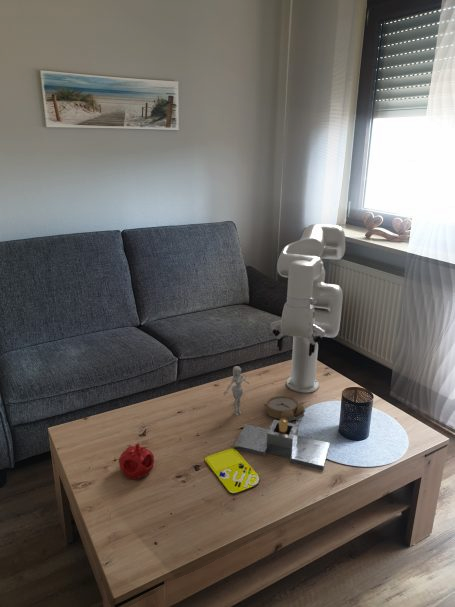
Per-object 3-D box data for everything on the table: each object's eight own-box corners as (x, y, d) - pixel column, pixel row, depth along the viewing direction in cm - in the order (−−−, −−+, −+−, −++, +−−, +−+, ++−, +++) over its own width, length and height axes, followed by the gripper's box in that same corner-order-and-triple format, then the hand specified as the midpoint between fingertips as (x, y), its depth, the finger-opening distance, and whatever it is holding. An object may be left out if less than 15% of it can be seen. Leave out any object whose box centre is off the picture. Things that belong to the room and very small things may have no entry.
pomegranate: (117, 464, 144) (115, 438, 141) (150, 457, 147) (149, 431, 144) (122, 486, 135) (120, 458, 132) (157, 478, 138) (156, 451, 135)
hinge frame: (245, 428, 162) (246, 410, 160) (329, 446, 153) (331, 428, 151) (233, 448, 152) (234, 429, 149) (323, 470, 143) (325, 450, 140)
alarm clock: (282, 392, 179) (312, 403, 167) (282, 405, 180) (313, 416, 168) (259, 402, 172) (289, 414, 161) (260, 415, 173) (290, 428, 162)
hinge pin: (278, 444, 154) (280, 417, 151) (286, 446, 153) (288, 419, 150) (276, 449, 152) (278, 422, 148) (284, 451, 151) (286, 423, 147)
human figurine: (227, 421, 166) (228, 374, 160) (220, 416, 169) (220, 370, 162) (252, 408, 174) (253, 363, 168) (244, 404, 176) (246, 360, 170)
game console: (201, 460, 147) (201, 456, 146) (233, 450, 152) (233, 446, 151) (231, 498, 132) (231, 493, 132) (265, 484, 137) (265, 480, 137)
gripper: (329, 300, 148) (324, 351, 154) (274, 294, 154) (272, 342, 160) (325, 308, 142) (320, 361, 147) (268, 301, 147) (266, 352, 153)
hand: (295, 351), depth 153 cm, fingers open, 9 cm apart
